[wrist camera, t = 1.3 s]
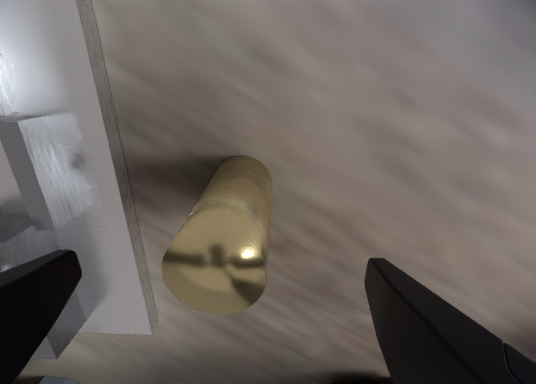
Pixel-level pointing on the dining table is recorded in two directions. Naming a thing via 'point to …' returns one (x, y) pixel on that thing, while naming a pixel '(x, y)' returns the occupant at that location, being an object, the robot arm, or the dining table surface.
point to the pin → (224, 241)
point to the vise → (56, 380)
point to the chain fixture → (67, 169)
